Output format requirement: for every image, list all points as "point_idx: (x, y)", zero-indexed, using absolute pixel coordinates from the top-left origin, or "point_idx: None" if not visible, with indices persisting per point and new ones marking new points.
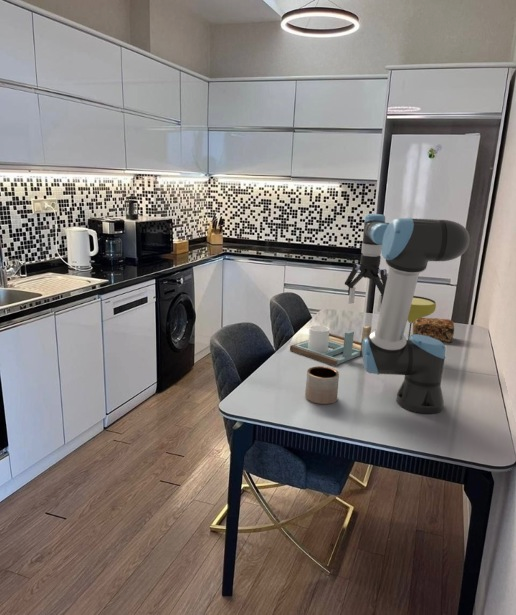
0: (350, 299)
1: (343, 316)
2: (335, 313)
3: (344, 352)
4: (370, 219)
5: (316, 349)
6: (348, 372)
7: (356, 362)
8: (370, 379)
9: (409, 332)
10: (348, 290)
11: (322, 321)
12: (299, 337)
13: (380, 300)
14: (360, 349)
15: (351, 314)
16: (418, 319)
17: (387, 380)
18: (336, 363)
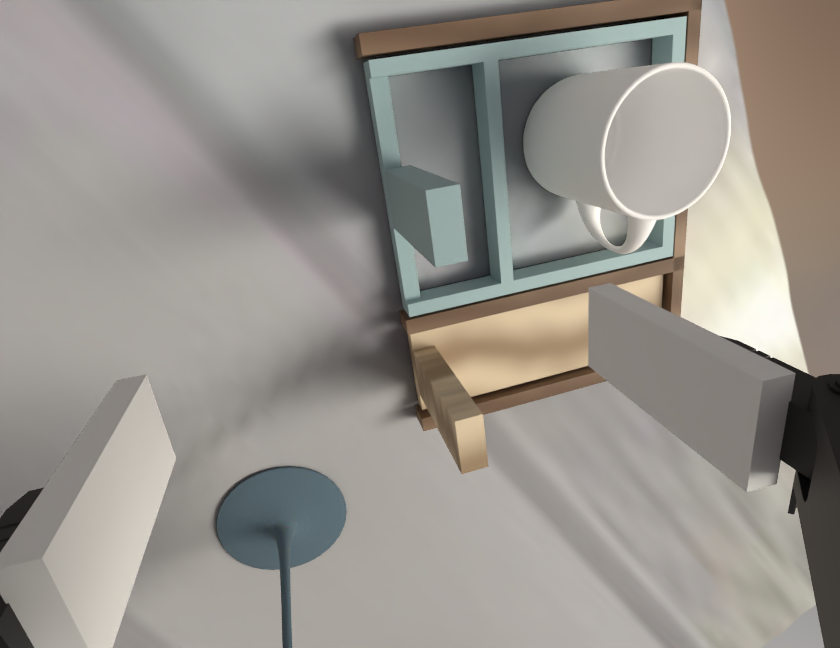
0: (624, 307)
1: (764, 580)
2: (804, 574)
3: (406, 169)
4: None
5: (562, 85)
6: (232, 28)
7: (337, 212)
8: (67, 60)
9: (284, 623)
10: (778, 363)
11: (793, 468)
12: (756, 216)
13: (43, 492)
14: (439, 349)
15: (755, 620)
16: None
17: (8, 150)
18: (357, 47)
